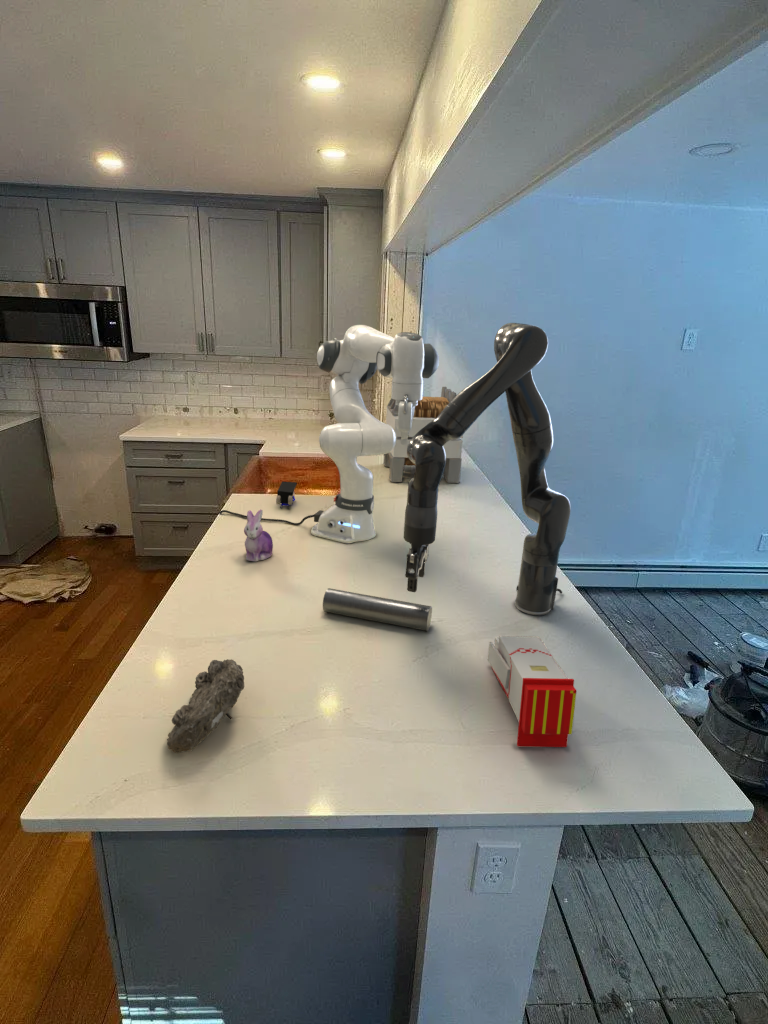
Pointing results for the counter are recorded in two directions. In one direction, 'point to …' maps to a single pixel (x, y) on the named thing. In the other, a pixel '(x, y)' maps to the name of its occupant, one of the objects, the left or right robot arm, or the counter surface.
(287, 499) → the figurine character
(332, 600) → the rod
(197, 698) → the fossil
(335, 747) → the counter surface
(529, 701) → the toy
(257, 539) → the figurine
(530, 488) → the right robot arm
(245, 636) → the counter surface
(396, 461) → the transformer
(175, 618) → the counter surface
